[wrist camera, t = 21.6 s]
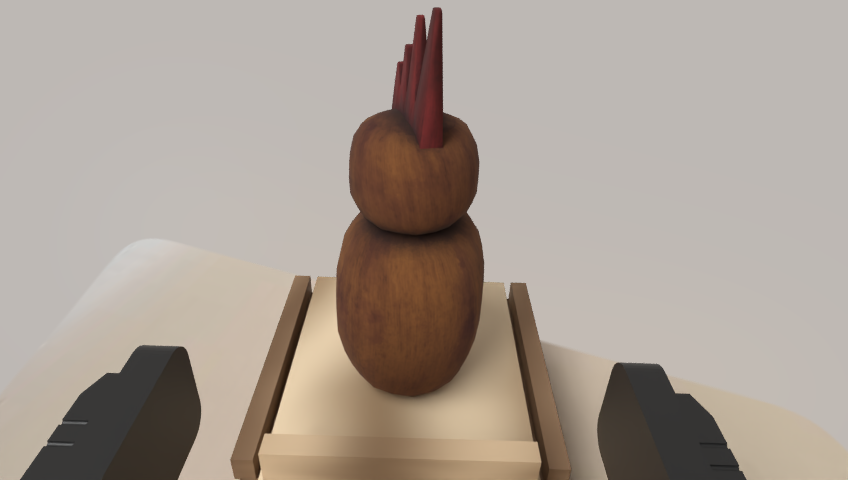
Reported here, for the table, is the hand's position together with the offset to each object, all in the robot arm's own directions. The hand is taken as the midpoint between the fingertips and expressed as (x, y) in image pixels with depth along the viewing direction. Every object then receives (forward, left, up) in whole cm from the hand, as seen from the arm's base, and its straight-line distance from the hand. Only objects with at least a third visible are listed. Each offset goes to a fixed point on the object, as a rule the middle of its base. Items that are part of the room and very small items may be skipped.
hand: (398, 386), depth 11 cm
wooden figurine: (0, -11, -10) cm, 15 cm away
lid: (0, -10, -10) cm, 15 cm away
